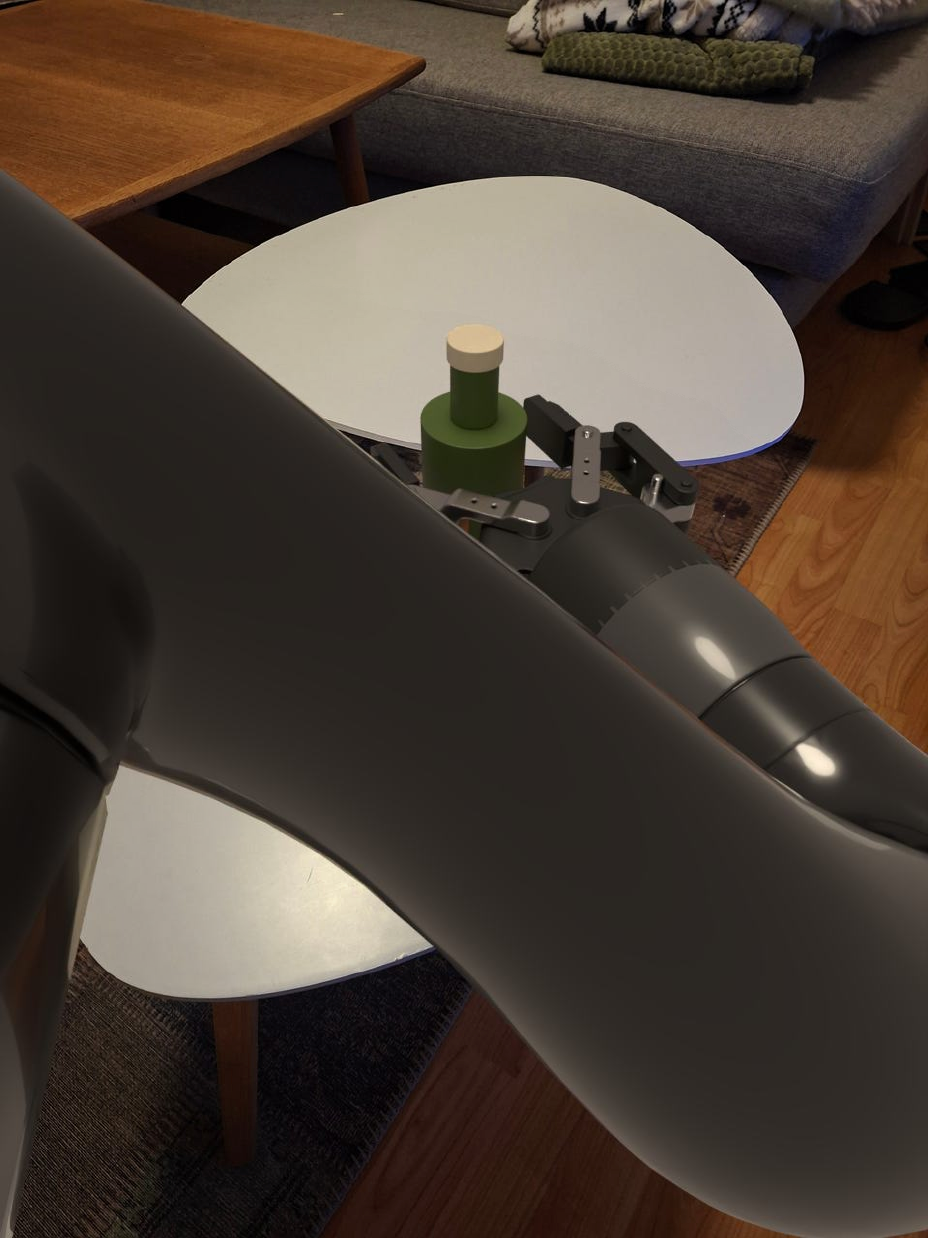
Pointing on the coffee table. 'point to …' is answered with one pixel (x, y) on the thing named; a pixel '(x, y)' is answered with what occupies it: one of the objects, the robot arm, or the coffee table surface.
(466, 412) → the olive bottle
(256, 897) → the coffee table surface
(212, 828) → the coffee table surface
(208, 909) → the coffee table surface
